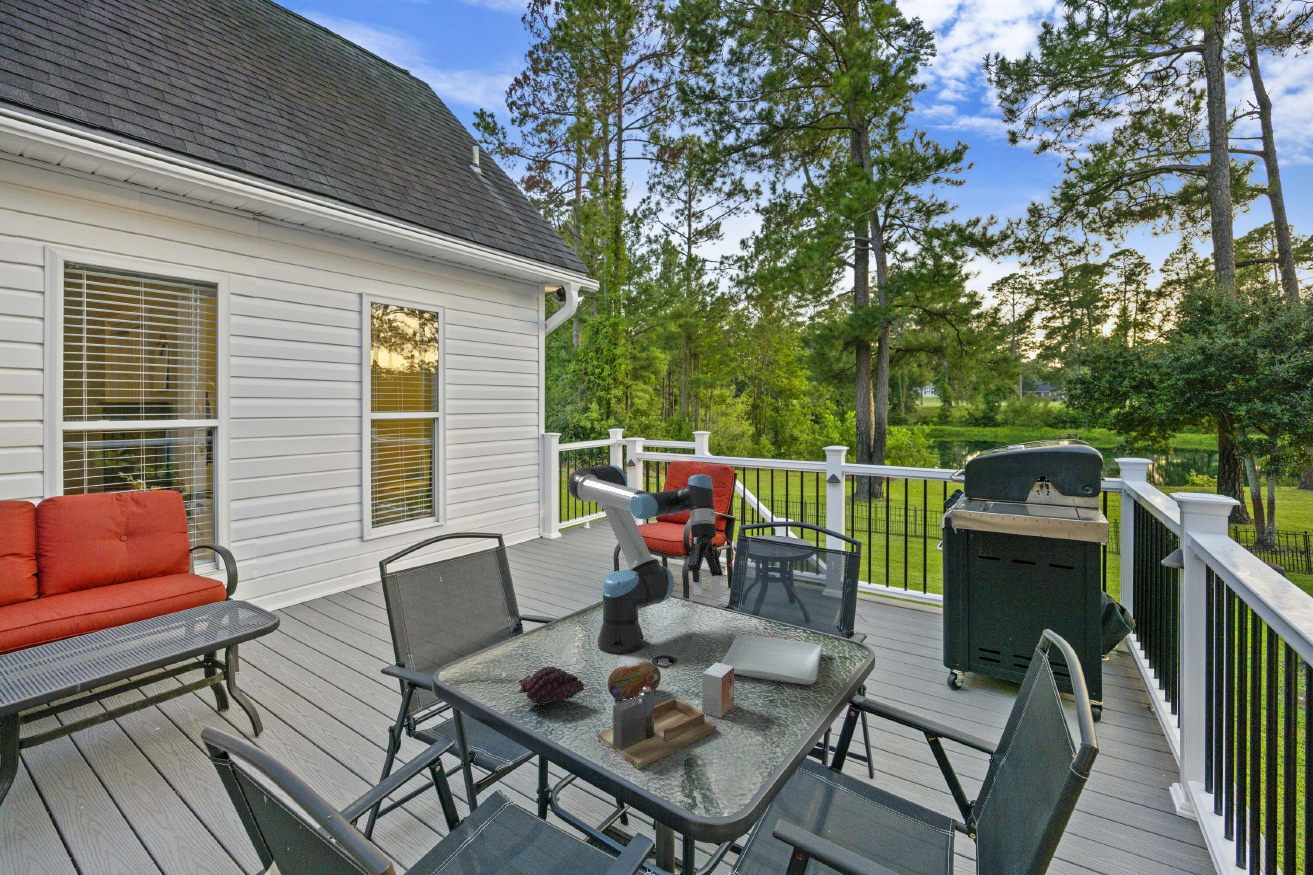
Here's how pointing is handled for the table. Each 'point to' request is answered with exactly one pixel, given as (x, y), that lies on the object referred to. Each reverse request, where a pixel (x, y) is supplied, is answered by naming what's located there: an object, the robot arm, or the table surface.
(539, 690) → the pine cone
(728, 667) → the small box
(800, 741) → the table surface
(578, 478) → the robot arm
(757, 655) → the square plate
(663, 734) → the tan wooden flat tray
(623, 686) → the tin
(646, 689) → the hinge leaf
